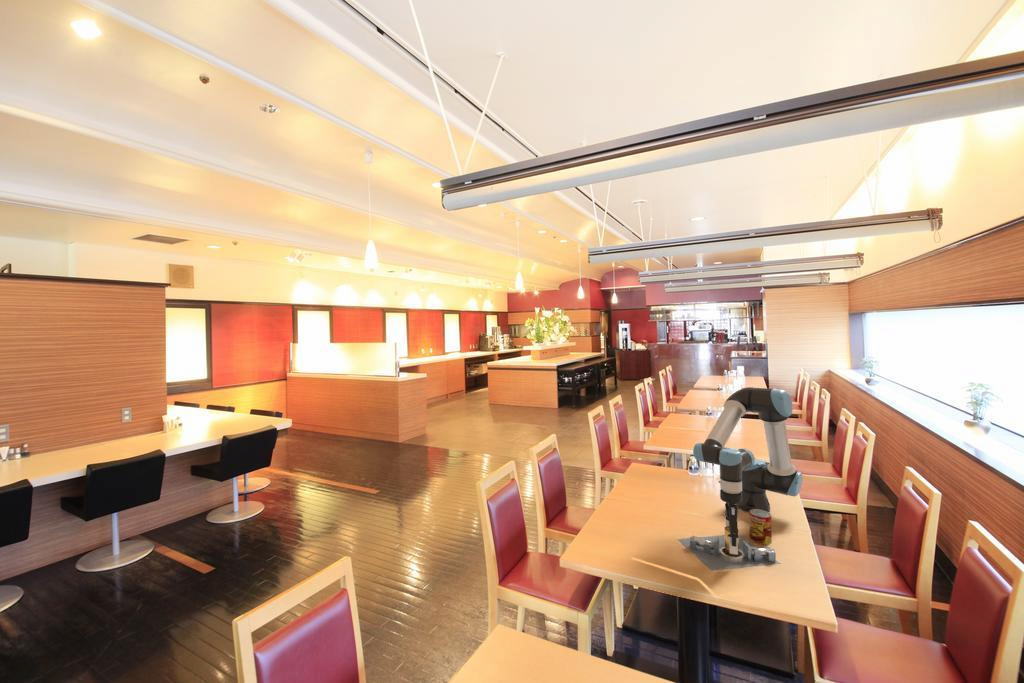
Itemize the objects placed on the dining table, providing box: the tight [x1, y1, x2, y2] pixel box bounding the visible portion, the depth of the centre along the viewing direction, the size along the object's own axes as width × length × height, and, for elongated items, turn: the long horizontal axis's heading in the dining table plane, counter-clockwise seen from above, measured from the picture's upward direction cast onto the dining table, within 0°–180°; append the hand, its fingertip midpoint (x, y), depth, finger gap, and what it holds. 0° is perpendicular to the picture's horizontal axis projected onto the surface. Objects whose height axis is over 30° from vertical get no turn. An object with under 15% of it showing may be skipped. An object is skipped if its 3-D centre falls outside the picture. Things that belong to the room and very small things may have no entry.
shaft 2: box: [743, 541, 777, 562], centre depth 159 cm, size 10×5×5 cm, turn 83°
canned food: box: [749, 509, 773, 545], centre depth 174 cm, size 8×8×12 cm
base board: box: [677, 534, 782, 572], centre depth 165 cm, size 28×24×1 cm
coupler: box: [724, 525, 740, 557], centre depth 160 cm, size 5×5×11 cm
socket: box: [720, 547, 745, 563], centre depth 160 cm, size 8×8×2 cm
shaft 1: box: [689, 535, 719, 556], centre depth 166 cm, size 10×5×5 cm, turn 53°
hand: (731, 545), depth 160 cm, fingers open, 13 cm apart
